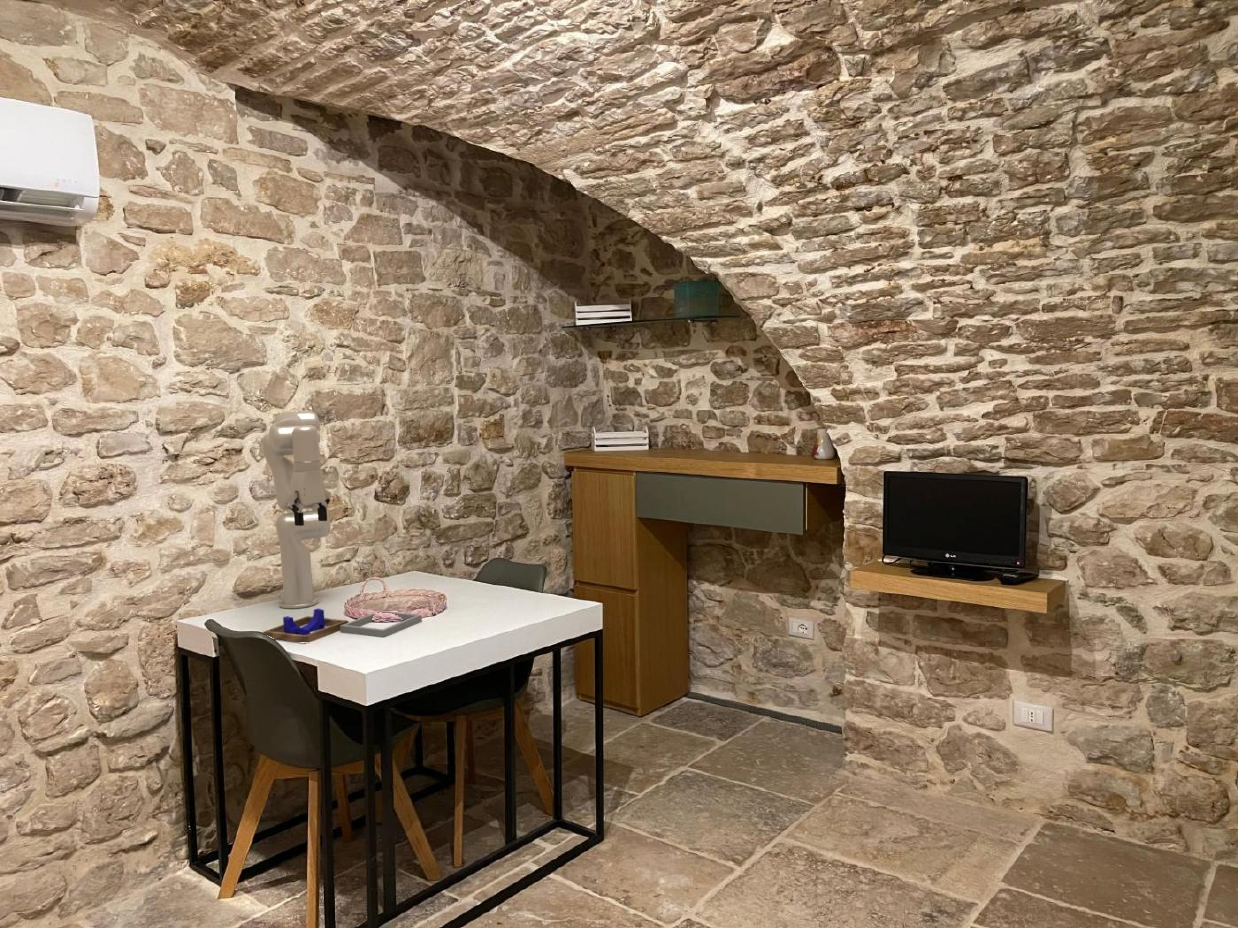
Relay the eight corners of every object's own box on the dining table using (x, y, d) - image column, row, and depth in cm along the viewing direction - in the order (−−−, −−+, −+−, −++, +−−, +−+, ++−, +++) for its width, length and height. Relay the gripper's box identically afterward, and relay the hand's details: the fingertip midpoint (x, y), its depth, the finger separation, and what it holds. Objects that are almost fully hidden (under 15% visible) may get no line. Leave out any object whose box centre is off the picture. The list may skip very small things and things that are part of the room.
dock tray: (340, 632, 289) (340, 625, 288) (380, 616, 305) (379, 610, 305) (383, 637, 282) (383, 630, 281) (421, 621, 298) (421, 614, 298)
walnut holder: (263, 638, 285) (263, 631, 284) (307, 622, 301) (307, 616, 301) (305, 643, 278) (305, 636, 277) (348, 626, 294) (348, 620, 294)
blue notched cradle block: (292, 639, 284) (291, 619, 283) (284, 636, 286) (283, 617, 286) (327, 629, 293) (326, 610, 292) (319, 627, 296) (318, 608, 295)
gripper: (318, 464, 299) (322, 518, 300) (276, 470, 283) (280, 527, 284) (336, 464, 295) (340, 519, 297) (295, 470, 280) (299, 527, 281)
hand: (311, 523), depth 290 cm, fingers open, 9 cm apart
